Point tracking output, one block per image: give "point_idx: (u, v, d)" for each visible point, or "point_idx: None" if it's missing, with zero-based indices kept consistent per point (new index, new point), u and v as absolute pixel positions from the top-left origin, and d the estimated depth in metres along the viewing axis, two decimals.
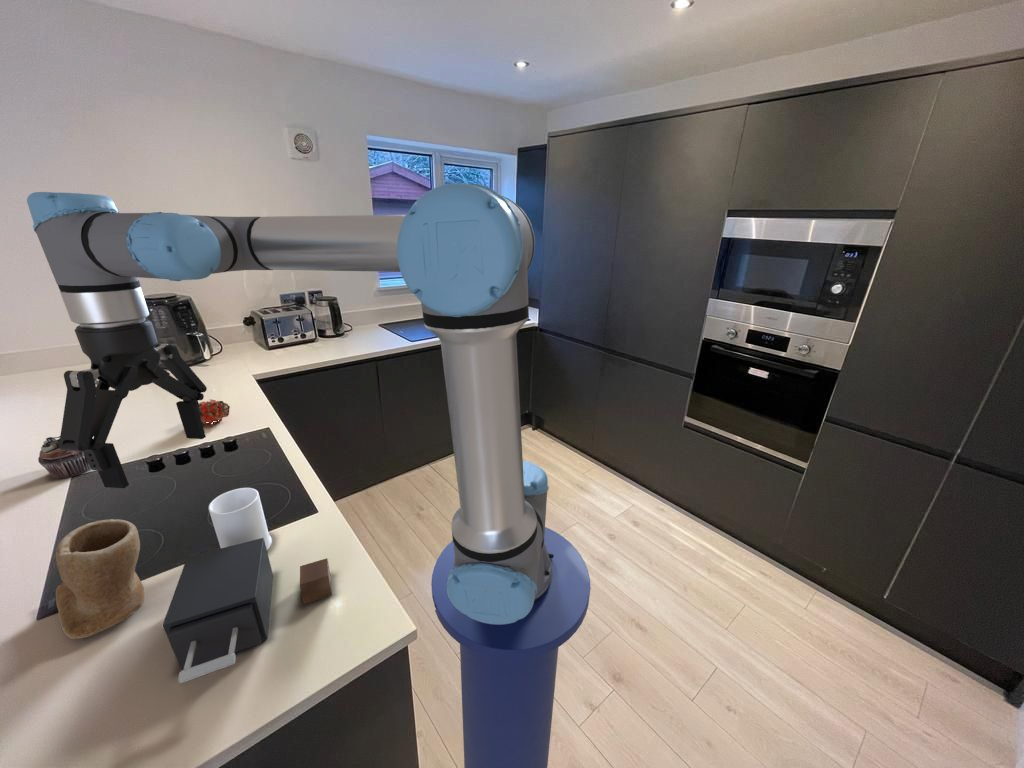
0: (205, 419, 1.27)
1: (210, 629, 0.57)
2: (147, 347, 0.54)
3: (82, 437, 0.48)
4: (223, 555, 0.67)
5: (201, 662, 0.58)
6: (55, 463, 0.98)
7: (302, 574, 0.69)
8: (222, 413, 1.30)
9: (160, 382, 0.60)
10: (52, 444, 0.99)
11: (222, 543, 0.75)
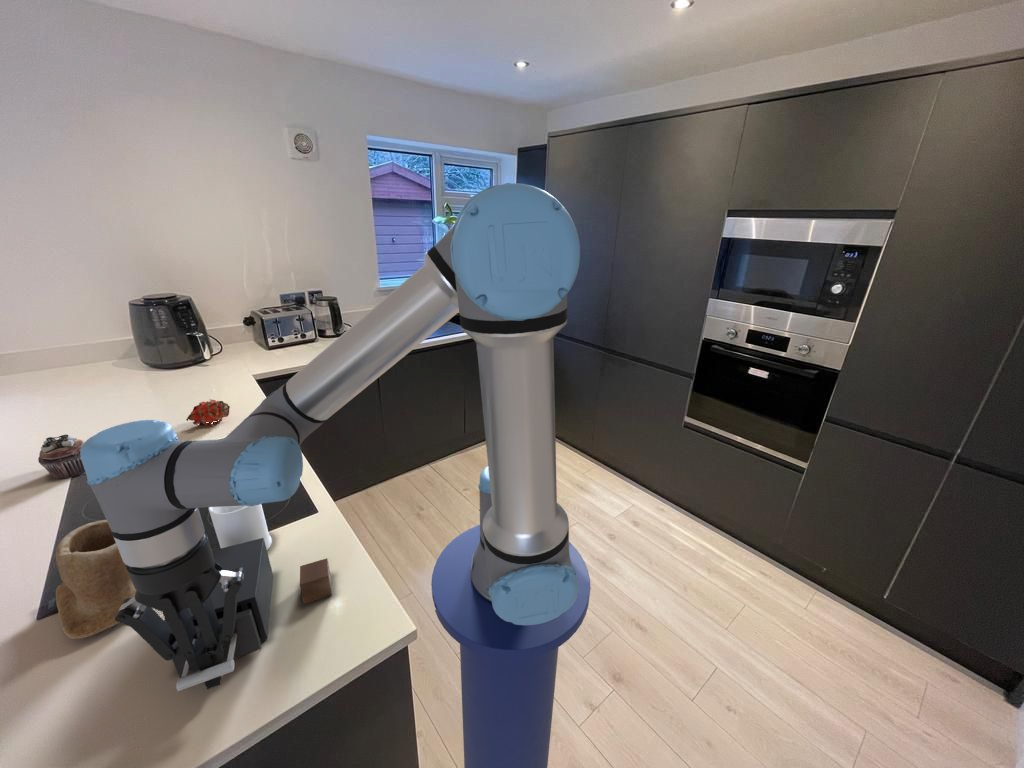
0: (205, 419, 1.27)
1: None
2: (164, 591, 0.45)
3: (162, 652, 0.50)
4: (223, 555, 0.67)
5: None
6: (55, 463, 0.98)
7: (302, 574, 0.69)
8: (222, 413, 1.30)
9: None
10: (52, 444, 0.99)
11: (222, 543, 0.75)
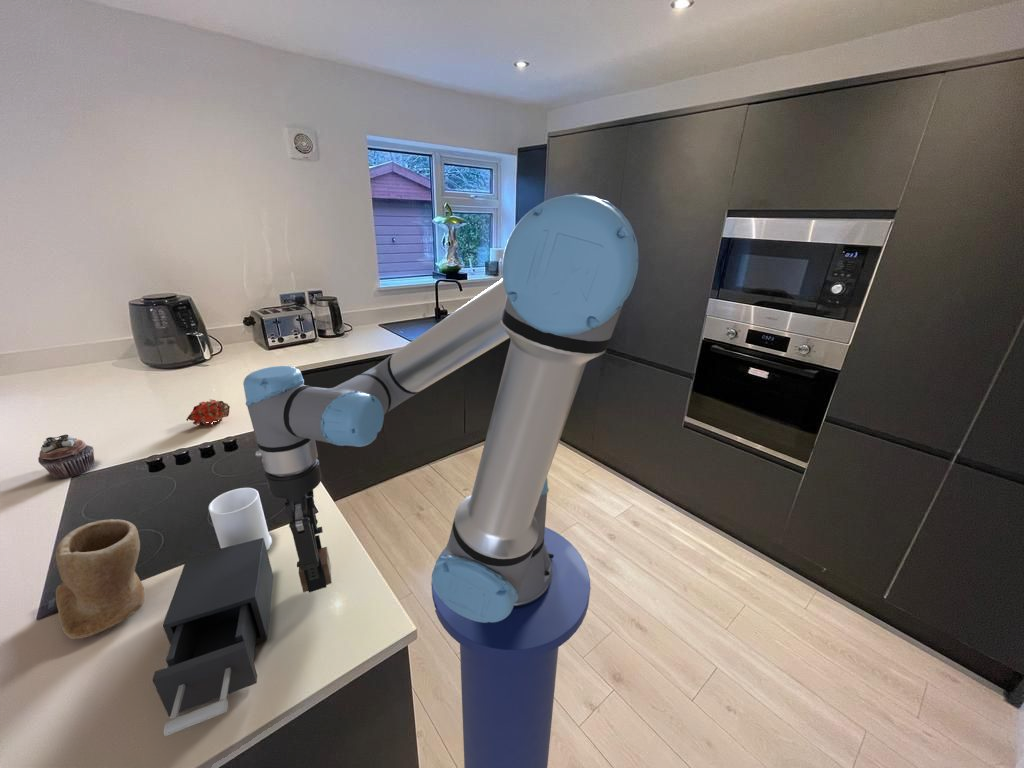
0: (205, 419, 1.27)
1: (200, 670, 0.52)
2: (321, 477, 0.65)
3: (316, 557, 0.63)
4: (223, 555, 0.67)
5: (190, 706, 0.53)
6: (55, 463, 0.98)
7: None
8: (222, 413, 1.30)
9: None
10: (52, 444, 0.99)
11: (222, 543, 0.75)
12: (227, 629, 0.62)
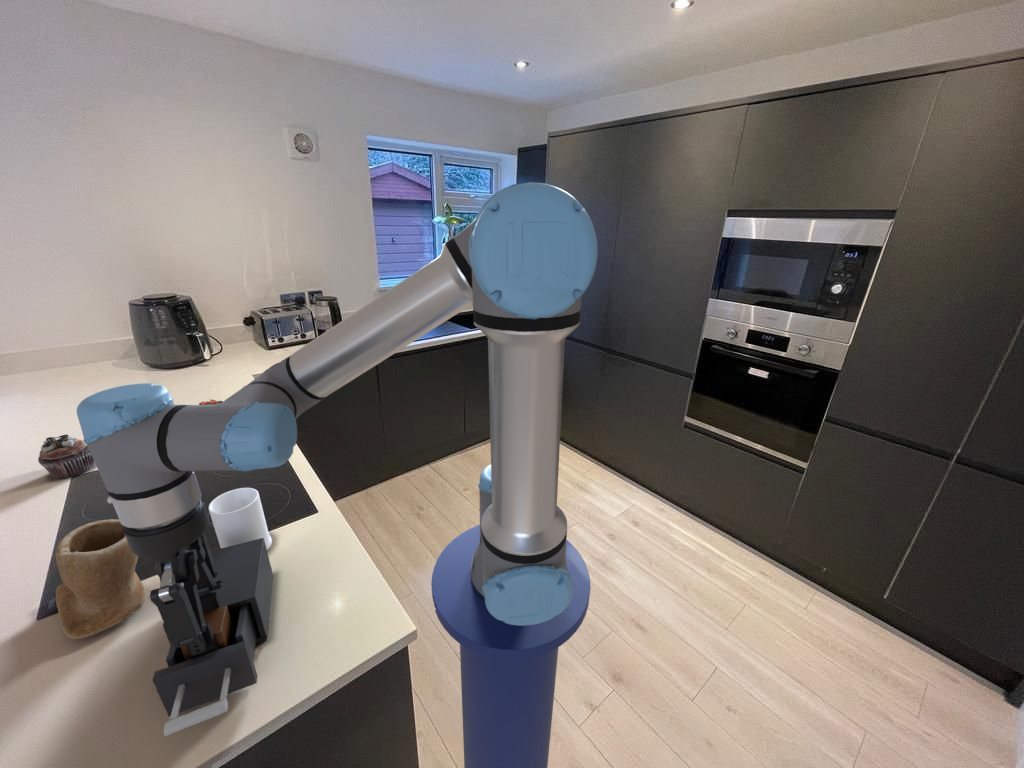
0: None
1: (200, 670, 0.52)
2: None
3: (196, 631, 0.49)
4: (223, 555, 0.67)
5: (190, 706, 0.53)
6: (55, 463, 0.98)
7: None
8: None
9: None
10: (52, 444, 0.99)
11: (222, 543, 0.75)
12: None
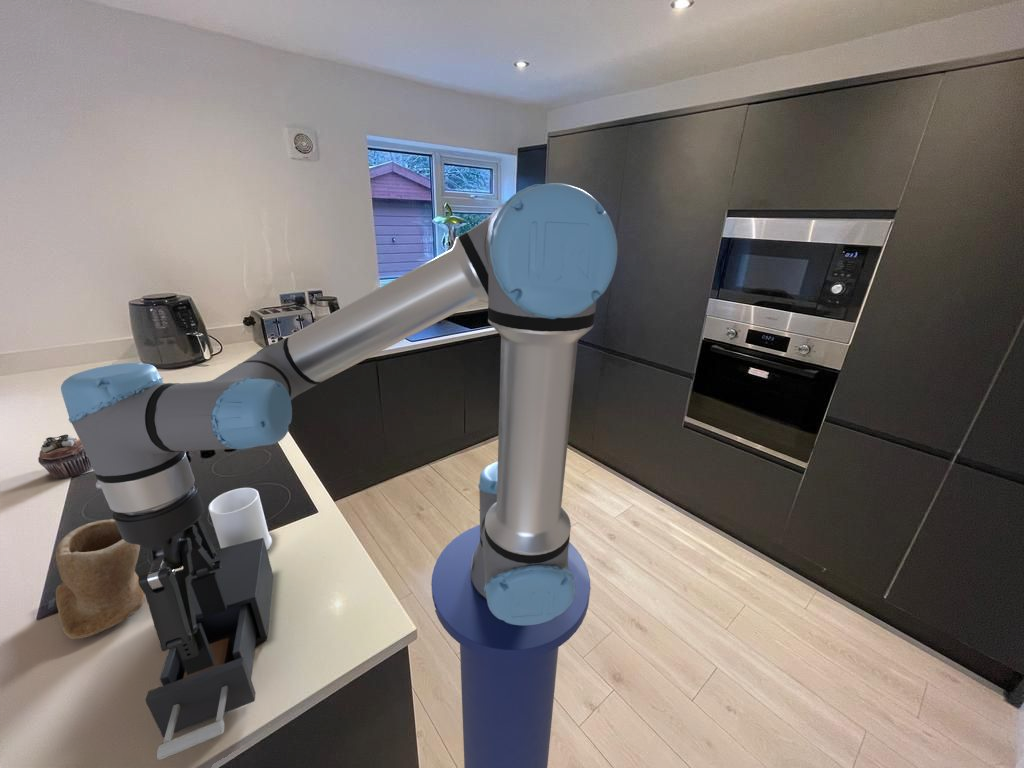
0: None
1: (196, 689, 0.50)
2: (202, 512, 0.49)
3: (186, 630, 0.45)
4: (223, 555, 0.67)
5: (185, 726, 0.51)
6: (55, 463, 0.98)
7: None
8: None
9: None
10: (52, 444, 0.99)
11: (222, 543, 0.75)
12: None
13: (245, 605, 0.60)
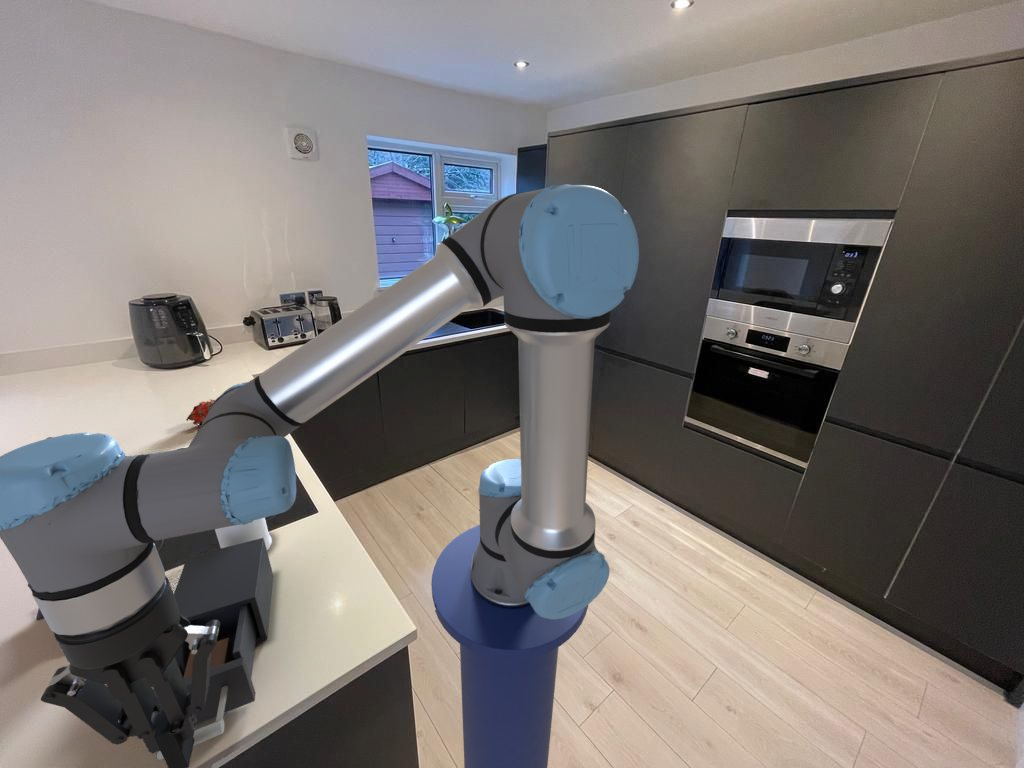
0: None
1: None
2: (107, 664, 0.34)
3: (109, 735, 0.38)
4: (223, 555, 0.67)
5: None
6: None
7: (190, 664, 0.53)
8: None
9: None
10: None
11: (222, 543, 0.75)
12: None
13: (245, 605, 0.60)
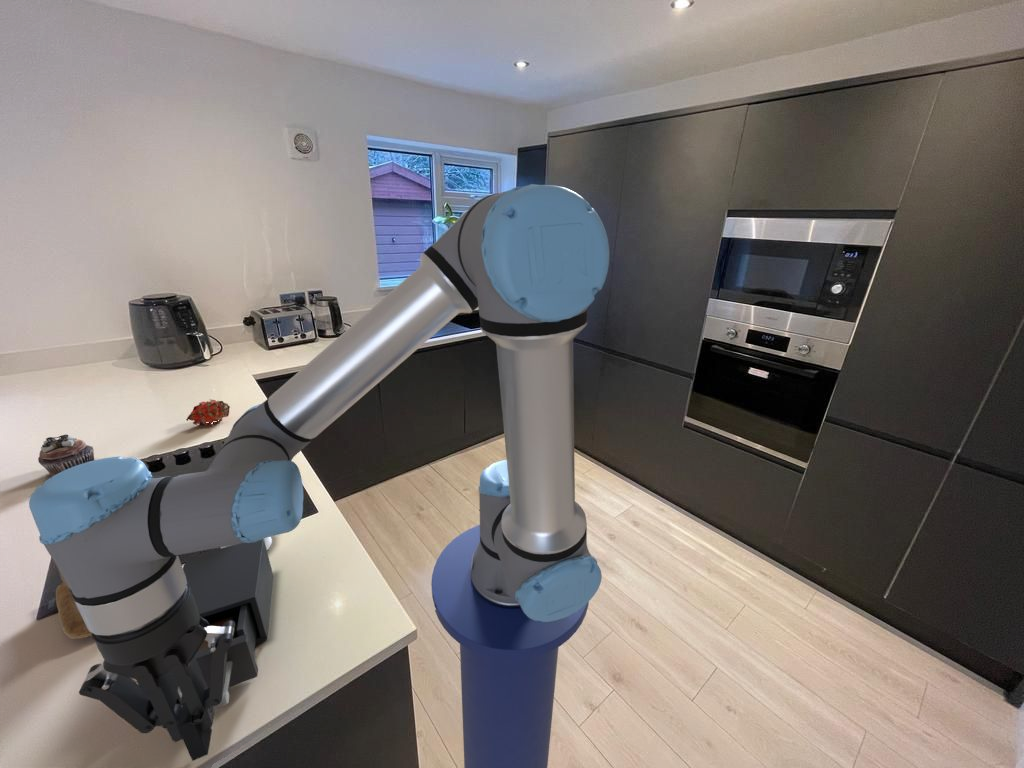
0: (205, 419, 1.27)
1: (202, 663, 0.53)
2: (138, 661, 0.38)
3: (137, 725, 0.43)
4: (223, 555, 0.67)
5: None
6: (55, 463, 0.98)
7: None
8: (222, 413, 1.30)
9: None
10: (52, 444, 0.99)
11: None
12: None
13: None
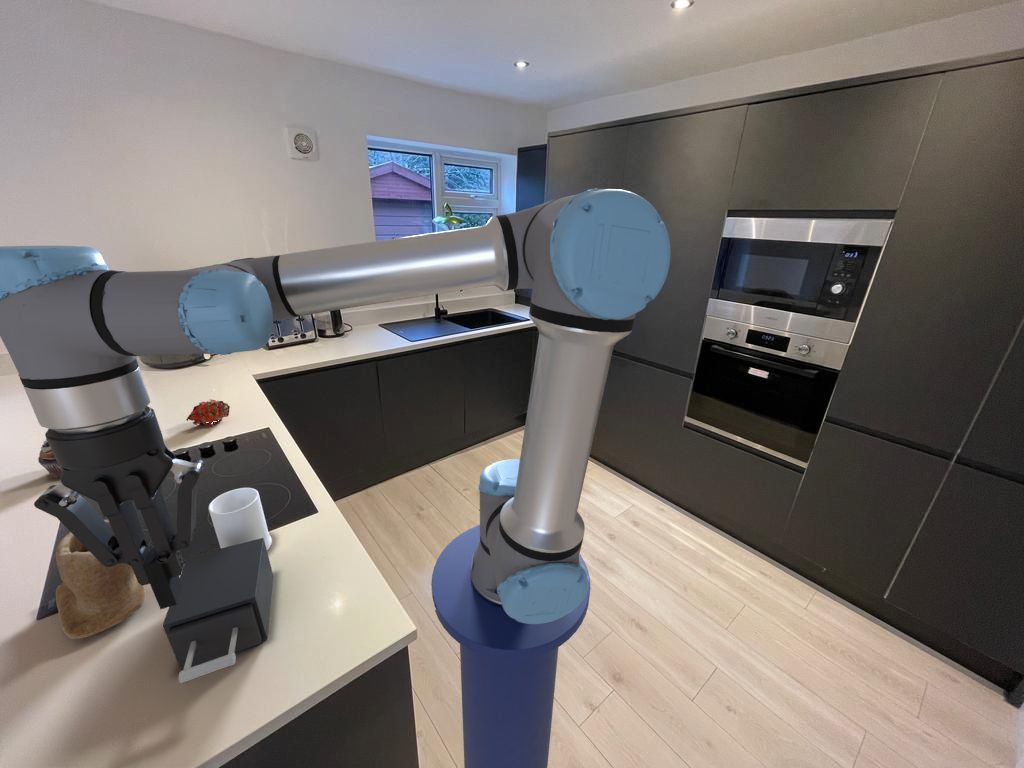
0: (205, 419, 1.27)
1: (210, 629, 0.57)
2: (95, 466, 0.36)
3: (99, 556, 0.41)
4: (223, 555, 0.67)
5: (201, 662, 0.58)
6: (55, 463, 0.98)
7: None
8: (222, 413, 1.30)
9: None
10: None
11: (222, 543, 0.75)
12: None
13: None
